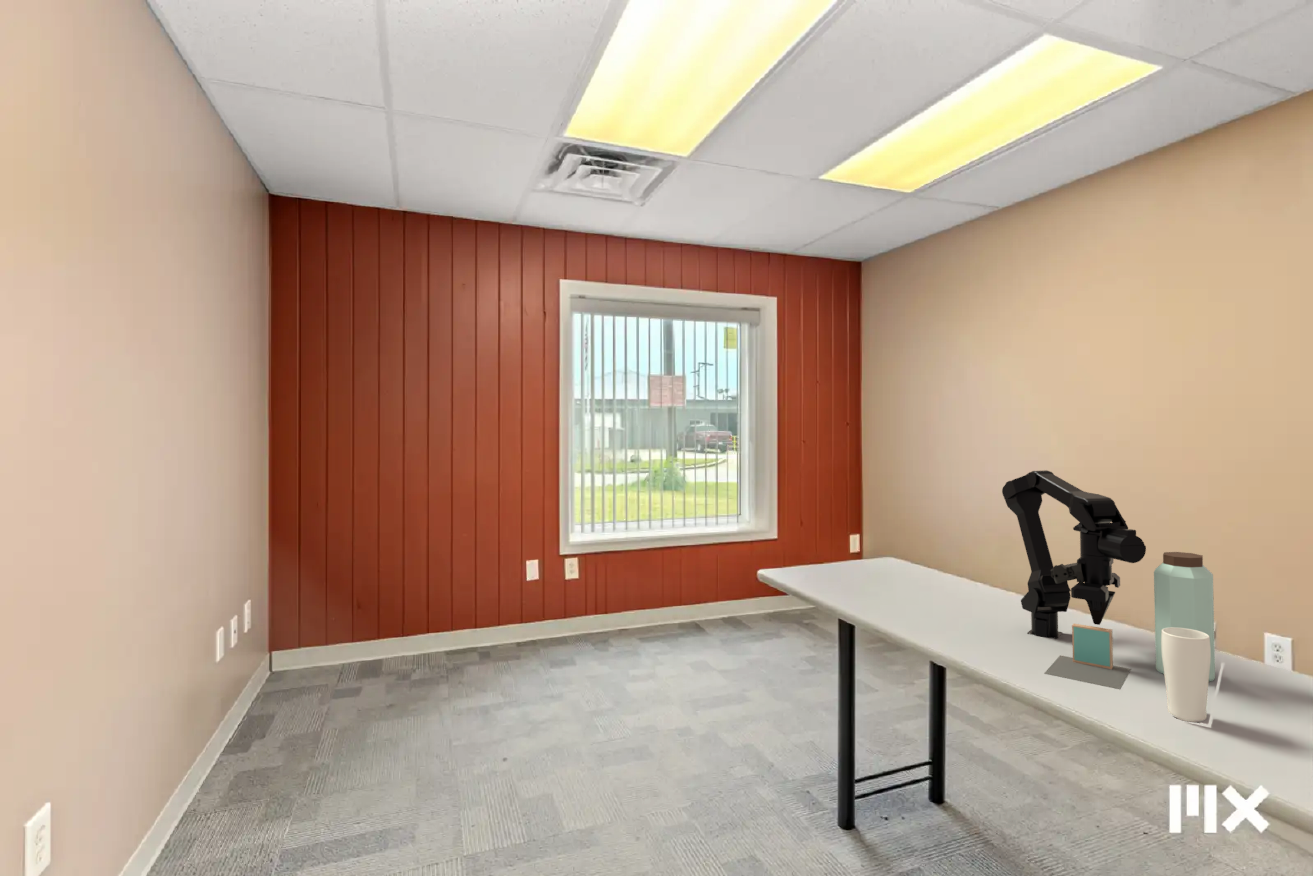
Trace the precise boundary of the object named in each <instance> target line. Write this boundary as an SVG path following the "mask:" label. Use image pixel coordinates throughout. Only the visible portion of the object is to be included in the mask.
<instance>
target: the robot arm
mask: <svg viewBox="0 0 1313 876" xmlns="http://www.w3.org/2000/svg"><path fill="white" fill-rule="evenodd" d="M1001 493H1002V496H1003V499H1004V500H1005V504H1006V505H1007V508H1009V510H1010V511H1011V512H1012V513H1013V514H1014V515H1015V516H1016V518H1017V522H1018V525H1019V529H1020V532H1021V537H1022V540H1023V541H1022V542H1023V544H1024V548H1025V551H1026V556H1027V559H1028V562H1029V566H1030V575H1029V578H1028V581H1027V589H1028V591H1027V592H1026V593H1025V595H1023V597H1022V598H1021V599H1020V603H1021V607H1022V609H1023V610H1025V611H1027V612H1029V613H1030V619H1031V621H1030V622H1031V629H1030V630H1029V631H1027V633H1026V634H1027V635H1032V636H1036V637H1043V638H1049V639H1055V640H1056V639H1058V638H1059V637H1060V636H1061V635H1062V634H1063V632H1062V631H1059V613H1061V612H1062V613H1066V612H1068V607H1069V604H1070V600H1071V598H1072V599H1078V600H1084V601H1086V604H1087V606H1088V609H1089V613H1090V615H1091V618H1092V622H1093V623H1092V624H1094V625H1099V626H1100V625H1101V624H1102V622H1103V619H1104V617H1105V615H1106V612H1107V610H1108V609H1109V606H1110V604H1111V602H1113V601H1112V600H1113V598H1114V596H1115V594H1116V591H1113V590H1109V587H1108V586H1111V585H1114V588H1120V586H1121V577H1120V576H1119V575H1118V574H1117V573H1115V572H1113V564H1114V560H1118V561H1121V562H1125V563H1129V564H1136V563H1139V562H1141V561H1142V560H1143V558H1144V557H1145V555H1146V554H1147V553H1146V552H1147V549H1146V548H1147V546H1146V545H1145V542H1144V540H1143V539H1142V538H1141V537H1139V536H1137V530H1136V529H1132V528H1129V527H1128V525H1127V523H1126V522H1127V521H1126V520H1125V519H1124V518H1123V515H1122V514H1121V513H1120V511H1119V509H1118V507H1117V505H1116V502H1115V501H1114V500H1113V499H1112V498H1111V497H1109V496H1106V495H1102V494H1099V493H1092V492H1087V491H1084V490H1082V489H1080V488H1079V487H1077V486H1075V485H1073V484H1071V483H1069V482H1068V481H1066V480H1064V479H1062V478H1061V477H1059V476H1057V475H1055V474H1054V473H1053V472H1052V471H1050V470H1047V469H1046V470H1045V469H1044V470H1032V471H1029V472H1027V474H1025V475H1022V476H1019V477H1017V478H1014V479H1012V480H1008V481H1007V482H1005V484H1004V485H1003V487H1002V490H1001ZM1045 494H1046V495H1048V496H1050V497H1051V498H1053V499H1054V500H1056V501H1058V502H1059V503H1061V504H1063V505H1064V506H1066V507H1067V508H1068V513H1069V514H1070V516H1072V517H1073V518H1074V519H1075V520H1077V521H1078V522H1079V523H1077V524H1076V525H1074V526H1073V527H1072V529H1073V530H1074V531H1075V532H1079V537H1080V538H1079V539H1080V541H1079V542H1080V543H1079V544H1080V545H1079V546H1080V549H1079V551H1080V553H1079V554H1080V556H1079V558H1078V559H1077V560H1076V562H1072V563H1068V564H1063V563H1061V564H1059V565H1057V564H1055V565H1054V563H1053V560H1052V557H1051V553H1050V549H1049V545H1048V542H1047V538H1046V534H1045V531H1044V527H1043V523H1042V521H1041V517H1040V512H1039V511H1040V508H1041V506H1042V503H1043V497H1042V496H1043V495H1045ZM1073 580H1074V581H1075V580H1076V584H1074V585H1073V586H1072V587H1071V588H1070V586H1069V583H1068V581H1073Z"/></svg>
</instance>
